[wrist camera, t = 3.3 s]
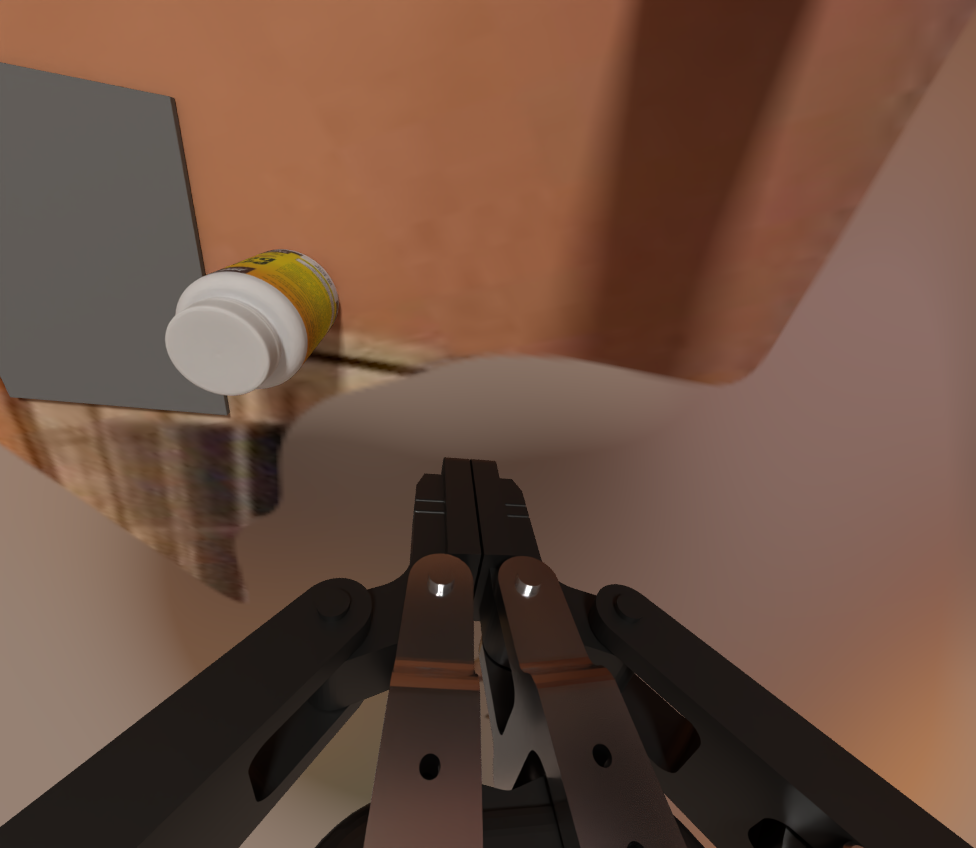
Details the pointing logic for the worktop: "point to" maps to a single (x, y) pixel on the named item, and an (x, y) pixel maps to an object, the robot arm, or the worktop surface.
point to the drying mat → (93, 243)
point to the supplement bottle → (251, 322)
